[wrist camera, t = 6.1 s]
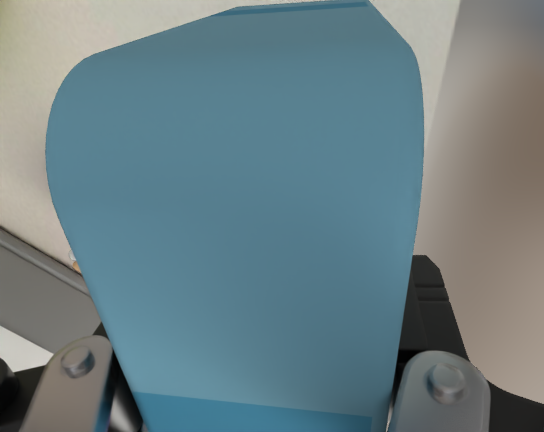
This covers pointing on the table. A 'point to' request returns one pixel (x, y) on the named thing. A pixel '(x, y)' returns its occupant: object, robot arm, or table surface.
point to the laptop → (39, 305)
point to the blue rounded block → (247, 213)
